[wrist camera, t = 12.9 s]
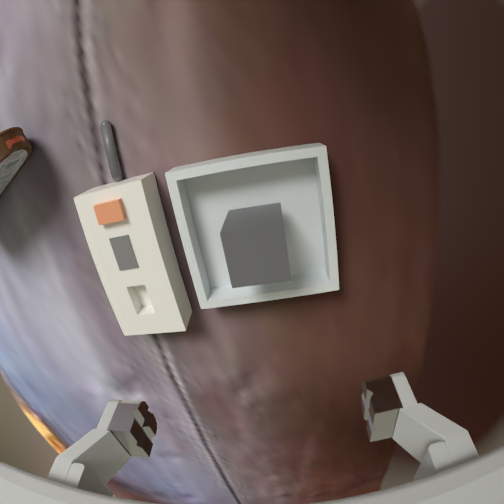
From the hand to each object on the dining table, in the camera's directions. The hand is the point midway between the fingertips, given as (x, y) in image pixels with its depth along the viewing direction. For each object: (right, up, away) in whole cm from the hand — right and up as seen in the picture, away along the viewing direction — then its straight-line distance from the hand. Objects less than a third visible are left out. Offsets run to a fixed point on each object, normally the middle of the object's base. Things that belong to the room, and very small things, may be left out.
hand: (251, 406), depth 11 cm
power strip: (-12, +8, +20) cm, 24 cm away
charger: (+1, +8, +19) cm, 20 cm away
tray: (+1, +8, +19) cm, 21 cm away
